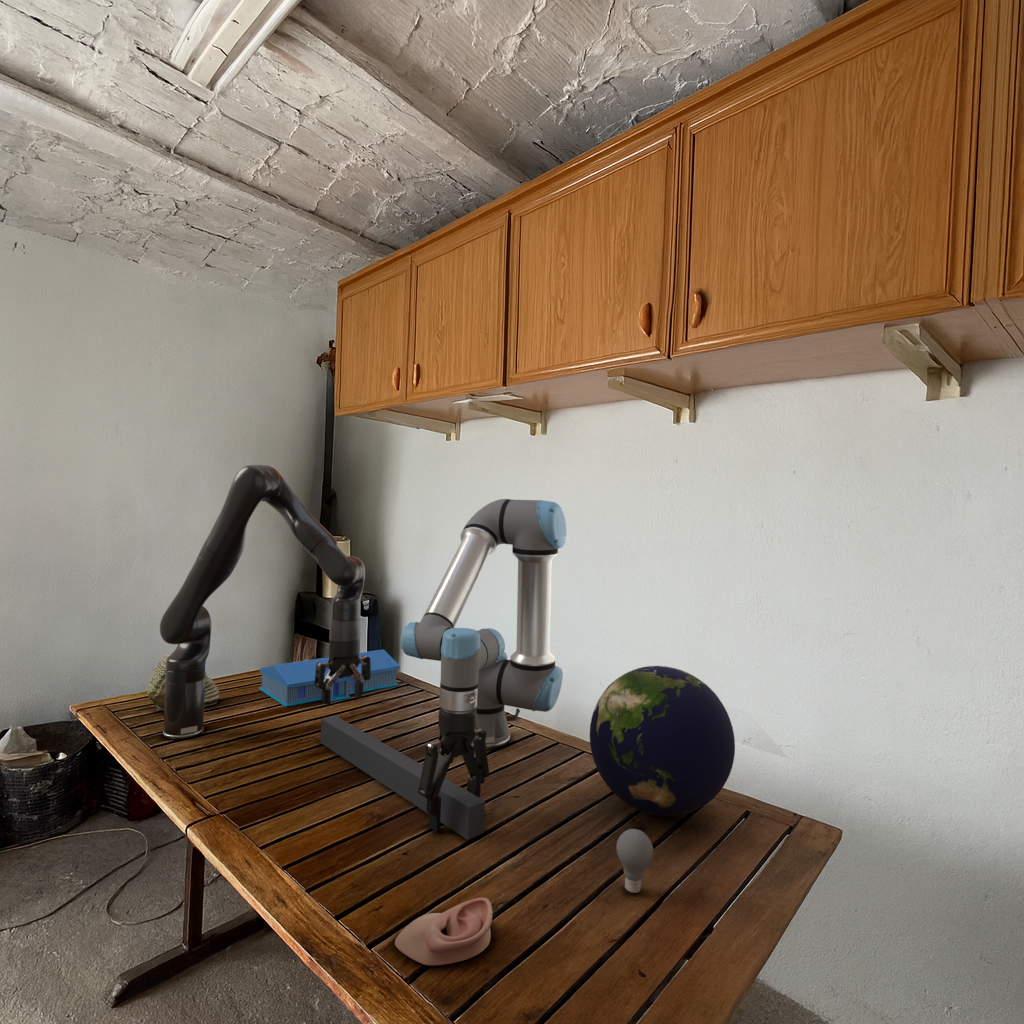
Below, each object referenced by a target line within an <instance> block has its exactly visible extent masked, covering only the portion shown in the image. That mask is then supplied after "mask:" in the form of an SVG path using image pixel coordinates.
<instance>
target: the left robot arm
mask: <svg viewBox="0 0 1024 1024" xmlns="http://www.w3.org/2000/svg"><path fill="white" fill-rule="evenodd" d="M261 502H265V503H266V504H268V505H269V506H270V507H272V508H273V509H274V510H275V511H277V513H278V514H279V515H280V516H281V517H282V518H283V520H284V521H285V523H286V524H287V526H288V528H289V530H290V532H291V534H292V536H293V537H294V538H295V540H296V541H297V543H298V544H299V545H300V546H301V547H303V549H304V550H305V551H307V553H308V554H309V555H310V556H311V557H312V558H313V559H314V560H316V562H317V564H318V566H319V567H320V568H321V570H322V571H323V573H324V574H325V576H326V577H327V578H328V579H329V580H330V581H331V582H332V583H334V584H335V585H337V588H336V593H335V595H334V596H333V598H332V601H331V610H330V611H331V612H330V613H331V614H330V617H331V618H330V624H329V635H328V638H329V639H328V657H329V661H328V663H320V662H318V663H317V664H316V672H315V682H314V686H316V687H318V688H319V689H322V700H321V701H322V702H323V704H324V705H326V706H329V705H331V702H330V697H331V690H330V688H331V686H332V685H333V683H335V682H336V680H337V679H338V678H344V677H351V676H353V678H354V679H355V680H356V682H355V693H354V698H356V699H361V698H362V696H363V694H364V692H363V683H364V682H365V681H366V680H370V678H371V662H370V657H368V656H365V655H363V656H362V657H360V658H359V654H360V653H361V633H362V632H361V630H362V629H361V627H362V626H361V599H362V595H363V591H364V586H365V580H366V567H365V565H364V562H363V561H362V560H361V558H359V557H358V556H355V555H348V556H347V555H346V554H345V553H344V552H343V551H342V550H341V549H340V548H339V542H338V541H337V539H336V538H335V536H333V534H331V533H330V532H329V530H327V529H326V527H324V525H323V524H321V523H320V521H318V519H317V518H316V517H315V516H313V514H312V513H311V512H310V511H309V510H308V509H307V507H306V506H305V505H304V504H303V503H302V502H301V501H300V499H299V498H298V496H297V494H295V493H294V491H293V490H292V489H291V487H290V485H288V483H287V482H286V480H285V479H284V478H283V476H282V475H281V473H280V472H279V471H278V470H277V469H275V468H274V467H273V466H271V465H266V464H247V465H245V466H243V467H241V468H240V469H239V470H238V472H236V474H235V475H234V478H233V480H232V482H231V485H230V487H229V490H228V493H227V495H226V498H225V501H224V502H223V503H224V504H223V506H222V507H221V511H220V513H219V514H218V517H217V518H216V520H215V522H214V524H213V526H212V528H211V530H210V532H209V533H208V536H207V537H206V539H205V541H204V543H203V545H202V546H201V548H200V551H199V553H198V555H197V557H196V559H195V561H194V563H193V564H192V567H191V569H190V571H189V572H188V574H187V576H186V577H185V580H184V582H183V583H182V586H181V587H180V589H179V590H178V592H177V594H176V595H175V596H174V598H173V599H172V601H171V602H170V604H169V605H168V607H167V609H166V610H165V612H164V613H163V615H162V617H161V619H160V623H159V634H160V637H161V639H162V641H164V642H165V643H167V644H169V645H176V647H175V649H174V650H173V652H172V653H170V654H169V655H170V656H168V658H167V660H166V674H165V705H164V708H163V710H162V712H163V730H162V737H164V738H166V739H169V740H185V739H190V738H191V739H192V738H194V737H197V736H199V735H202V734H203V732H204V730H205V729H204V726H205V725H204V722H205V721H204V718H205V706H204V693H205V672H206V664H207V663H206V662H207V658H208V657H209V654H210V649H211V639H212V617H211V614H210V612H209V610H208V609H207V608H206V607H205V606H204V604H205V603H206V601H207V600H208V599H209V598H210V597H211V596H212V595H213V593H215V592H216V591H217V590H218V589H219V588H220V587H221V586H222V585H223V584H224V583H225V582H226V581H227V580H228V578H230V576H231V575H232V573H233V572H234V570H235V569H236V567H237V565H238V563H239V562H240V559H241V557H242V555H243V553H244V551H245V546H246V534H247V527H248V524H249V521H250V519H251V517H252V516H253V514H254V512H255V510H256V508H257V507H258V506H259V504H260V503H261ZM359 664H361V665H362V675H361V674H360V672H359V671H358V670H357V667H358V665H359ZM327 668H329V672H328V673H327V675H326V677H325V680H324V675H325V672H326V671H327ZM332 675H334V676H333V677H332Z"/></svg>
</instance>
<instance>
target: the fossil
mask: <svg viewBox="0 0 1024 1024" xmlns="http://www.w3.org/2000/svg"><path fill="white" fill-rule="evenodd" d="M170 655H171V654H165V655H164V656H163V657H162V658H161V659H160V660H159V662H158V663H157V666H156V667H155V669H154V670H153V672H152V675H151V677H150V680H149V684H148V688H147V697H148V699H149V700H150V701H152V703H153V704H154V706H155V711H158V712H159V711H162V712H163V708H164V705H165V674H166V660H167V658H168V656H170ZM220 698H221V696H220V690H219V688H218V686H217V685H216V683H215V682H214V681H213V679H212V678H211V677H209V675H208V674H207V672H206V671H205V693H204V707H207V706H213V705H215V704H217V703H218V701H219V699H220Z"/></svg>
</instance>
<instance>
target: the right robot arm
mask: <svg viewBox="0 0 1024 1024" xmlns="http://www.w3.org/2000/svg"><path fill="white" fill-rule="evenodd" d="M566 537H567V522H566V517H565V513H564V511H563V509H562V507H561V506H560V505H559V503H557V502H555V501H549V500H543V499H538V500H537V499H511V498H510V499H509V498H501V499H496V500H494V501H490V502H489V503H487V504H486V505H484V506H482V507H481V508H480V509H479V510H478V511H476V512H475V513H474V514H473V515H472V516H471V518H470V519H469V520H468V521H467V522H466V524H465V525H464V527H463V529H462V531H461V533H460V541H461V542H460V543H459V546H458V548H457V550H456V551H455V554H454V555H453V557H452V558H451V559H452V560H451V561H450V564H449V565H448V567H447V569H446V571H445V573H444V575H443V576H442V579H441V581H440V583H439V585H438V587H437V589H436V590H435V593H434V595H433V597H432V599H431V600H430V602H429V604H428V605H427V608H426V609H425V612H424V614H423V616H422V618H421V620H420V621H413V622H412V621H411V622H409V623H408V624H407V625H405V626H404V627H403V629H402V632H401V635H400V648H401V650H402V652H403V653H404V654H405V655H406V656H408V657H412V658H416V659H419V660H420V659H421V660H430V661H438V662H440V680H439V681H440V682H439V695H438V696H439V698H438V707H440V708H439V709H438V721H437V723H438V724H437V725H438V730H439V735H438V737H437V740H435V741H432V742H430V741H426V742H425V744H424V748H425V749H424V750H425V751H424V752H425V756H424V761H423V764H422V765H423V770H422V774H421V779H420V784H419V789H418V793H419V794H421V795H422V796H424V797H425V798H427V806H426V810H427V813H426V814H428V813H429V814H428V825H427V826H428V828H430V830H432V831H434V832H435V833H439V832H440V831H441V822H440V815H441V797H440V796H438V794H439V791H440V789H441V786H442V784H443V781H444V778H446V776H447V773H448V770H449V768H450V766H451V764H453V763H454V759H456V758H457V757H459V756H462V759H463V761H464V764H465V766H466V769H467V771H468V774H469V777H470V778H469V779H467V780H466V790H467V791H468V792H470V793H472V794H474V795H475V796H477V797H479V798H480V796H481V788H482V787H481V786H482V785H483V784H484V783H485V782H486V779H485V778H488V777H489V776H490V767H489V760H488V752H487V751H488V750H489V751H490V750H497V749H500V748H503V747H505V746H507V745H508V744H509V743H510V741H511V732H510V726H509V724H508V720H513V719H516V718H518V716H519V714H520V713H521V710H520V709H523V710H528V711H532V712H543V713H547V712H550V711H551V710H552V709H553V708H554V707H555V705H556V704H557V701H558V699H559V697H560V693H561V690H562V685H563V678H564V677H563V676H564V674H563V669H562V667H560V666H558V665H556V657H555V655H554V654H553V653H552V652H551V651H550V650H551V649H550V648H551V611H552V610H551V606H552V605H551V603H552V567H553V566H552V565H553V564H552V563H553V562H552V561H553V559H554V558H555V557H557V556H558V554H559V553H558V552H559V549H561V548H563V547H564V545H565V543H566ZM500 545H512V549H511V551H512V552H511V553H512V555H514V557H515V558H516V559H517V595H516V596H517V598H516V599H517V600H516V601H517V603H516V604H517V605H516V612H517V613H516V650H515V651H514V652H513V653H512V654H511V655H510V659H508V655H507V653H506V651H505V650H506V643H505V639H504V637H503V635H502V634H501V633H500V632H499V631H498V630H496V629H494V628H490V627H487V628H480V629H479V630H476V629H474V628H470V627H469V628H468V627H456V625H457V623H458V620H459V619H460V617H461V614H462V612H463V610H464V608H465V605H466V603H467V601H468V600H469V598H470V595H471V593H472V591H473V589H474V586H475V585H476V583H477V580H478V579H479V577H480V574H481V572H482V569H483V567H484V565H485V563H486V561H487V558H488V556H489V555H491V554H493V553H494V552H495V551H496V548H497V547H498V546H500ZM505 706H508V707H513V708H516V709H515V714H513V715H507V716H506V713H505ZM481 784H482V785H481Z"/></svg>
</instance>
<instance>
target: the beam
mask: <svg viewBox="0 0 1024 1024" xmlns="http://www.w3.org/2000/svg"><path fill="white" fill-rule="evenodd" d="M320 744H321V745H323V746H324V747H326V748H328V749H329V750H331V751H332V752H333V753H335V754H336V755H338V756H339V757H341V758H343V759H344V760H346V761H347V762H349V763H351V764H352V765H353V766H355V767H356V768H358V769H359V770H361V771H362V772H364V773H365V774H367V775H369V776H370V777H371V778H373V779H374V780H376V781H378V783H381V784H382V785H384V786H385V787H387V788H388V789H389V790H390V791H393V792H394V793H396V794H397V795H399V796H400V797H402V798H403V799H404V800H406V801H408V802H409V803H411V804H412V805H414V806H415V807H417V808H418V809H420V810H421V811H423V812H424V813H426V814H428V815H429V813H427V810H426V806H427V798H425V797H424V796H422V795H421V794H419V793H418V789H419V784H420V779H421V774H422V770H423V765H424V764H421V763H419V762H418V761H416V760H414V759H412V758H411V757H409V756H407V755H406V754H403V753H402V752H401V751H398V750H397V749H395V748H393V747H391V746H390V745H388V744H386V743H384V742H382V741H381V740H379V739H377V738H375V737H374V736H372V735H370V734H368V733H367V732H365V731H363V730H361V729H360V728H358V727H356V726H355V725H353V724H351V723H349V722H348V721H346V720H344V719H342V718H340V717H339V716H337V715H332V716H328V717H322V718H321V719H320ZM438 796H440V797H441V815H440V824H443V825H444V826H446V827H447V828H449V829H450V830H452V831H453V832H455V833H456V834H458V835H459V836H460V837H462V838H464V839H465V840H466V841H469V840H471V839H473V838H476V837H478V836H481V835H483V834H484V833H485V813H486V810H485V809H486V801H485V800H484V799H482V798H480V796H479V797H477V796H475V795H474V794H472V793H470V792H468V791H467V789H465V788H463V787H461V786H460V785H458V784H456V783H454V782H453V781H451V780H449V779H448V778H446V777H445V778H444V781H443V784H442V786H441V789H440V791H439V794H438Z"/></svg>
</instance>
